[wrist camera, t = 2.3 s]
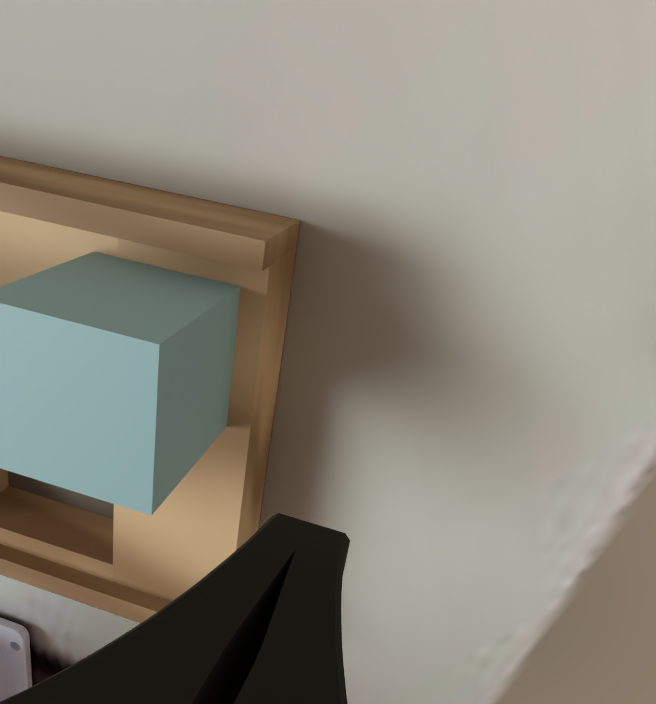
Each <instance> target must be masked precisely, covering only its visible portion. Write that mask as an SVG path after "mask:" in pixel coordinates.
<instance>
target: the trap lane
mask: <svg viewBox="0 0 656 704" xmlns="http://www.w3.org/2000/svg"><path fill="white" fill-rule="evenodd" d="M299 226H300V220H296V219H291V218H287V217H282V216H277V215H273V214H268V213H263V212H259V211H254V210H249V209H245V208H240V207H235V206H231V205H226V204H221V203H217V202H212V201H207V200H203V199H198V198H193V197H189V196H184V195H179V194H175V193H170V192H165V191H161V190H156V189H151V188H147V187H142V186H137V185H133V184H128V183H123V182H118V181H114V180H109V179H104V178H100V177H95V176H90V175H86V174H81V173H76V172H72V171H67V170H62V169H58V168H53V167H48V166H44V165H39V164H34V163H30V162H25V161H20V160H16V159H11V158H6V157H2V156H0V286H3V285H6V284H8V283H11V282H14V281H16V280H19V279H22V278H24V277H27V276H30V275H32V274H35V273H38V272H40V271H43V270H46V269H48V268H51V267H54V266H56V265H59V264H62V263H64V262H67V261H70V260H72V259H75V258H78V257H80V256H83V255H86V254H88V253H91V252H98V253H103V254H107V255H111V256H115V257H120V258H124V259H128V260H132V261H136V262H141V263H145V264H149V265H153V266H157V267H162V268H166V269H170V270H174V271H179V272H183V273H187V274H191V275H195V276H200V277H204V278H208V279H212V280H216V281H221V282H225V283H229V284H233V285H238V286H241V290H240V300H239V310H238V320H237V330H236V340H235V349H234V359H233V369H232V379H231V389H230V399H229V409H228V419H227V427H226V428H225V429H224V431H223V432H222V433H221V434H220V435H219V436H218V438H217V439H216V440H215V441H214V442H213V444H212V445H211V446H210V447H209V448H208V449H207V451H206V452H205V453H204V454H203V455H202V457H201V458H200V459H199V460H198V461H197V463H196V464H195V465H194V466H193V467H192V468H191V470H190V471H189V472H188V473H187V474H186V476H185V477H184V478H183V479H182V480H181V481H180V483H179V484H178V485H177V486H176V487H175V489H174V490H173V491H172V492H171V493H170V494H169V496H168V497H167V498H166V499H165V500H164V502H163V503H162V504H161V505H160V506H159V507H158V509H157V510H156V511H155V512H154V513H153V515H152V516H151V515H148V514H144V513H141V512H138V511H135V510H132V509H128V508H125V507H122V506H119V505H116V504H113V503H109V502H106V501H103V500H100V499H97V498H93V497H90V496H87V495H84V494H81V493H77V492H74V491H71V490H68V489H65V488H61V487H58V486H55V485H52V484H49V483H45V482H42V481H39V480H36V479H33V478H30V477H26V476H23V475H20V474H17V473H14V472H10V471H7V470H4V469H1V468H0V574H1V575H3V576H6V577H9V578H12V579H15V580H18V581H21V582H24V583H27V584H29V585H32V586H35V587H38V588H41V589H44V590H47V591H50V592H52V593H55V594H58V595H61V596H64V597H67V598H70V599H73V600H76V601H78V602H81V603H84V604H87V605H90V606H93V607H96V608H99V609H101V610H104V611H107V612H110V613H113V614H116V615H119V616H122V617H125V618H127V619H130V620H133V621H136V622H139V623H142V622H144V621H145V620H147V619H148V618H150V617H151V616H152V615H154V614H155V613H157V612H158V611H159V610H161V609H162V608H164V607H165V606H166V605H168V604H169V603H170V602H172V601H173V600H175V599H176V598H177V597H179V596H180V595H181V594H183V593H184V592H186V591H187V590H188V589H190V588H191V587H192V586H193V585H195V584H196V583H197V582H199V581H200V580H201V579H202V578H204V577H205V576H206V575H207V574H208V573H210V572H211V571H212V570H213V569H215V568H216V567H217V566H218V565H219V564H221V563H222V562H223V561H224V560H226V559H227V558H228V557H229V556H230V555H231V554H232V553H234V552H235V551H236V550H237V549H238V548H239V547H240V546H242V545H243V544H244V543H245V542H246V541H247V540H248V539H249V538H250V537H252V536H253V535H254V534H255V533H256V532H257V531H258V529H259V521H260V514H261V506H262V499H263V492H264V484H265V477H266V470H267V462H268V455H269V447H270V440H271V433H272V425H273V418H274V410H275V403H276V396H277V388H278V381H279V373H280V366H281V359H282V351H283V344H284V337H285V329H286V322H287V314H288V307H289V300H290V292H291V285H292V277H293V270H294V263H295V255H296V248H297V240H298V233H299Z"/></svg>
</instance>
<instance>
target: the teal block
mask: <svg viewBox="0 0 656 704" xmlns="http://www.w3.org/2000/svg"><path fill="white" fill-rule="evenodd" d="M240 290H241V286H238V285H233V284H229V283H225V282H221V281H216V280H212V279H208V278H204V277H200V276H195V275H191V274H187V273H183V272H179V271H174V270H170V269H166V268H162V267H157V266H153V265H149V264H145V263H141V262H136V261H132V260H128V259H124V258H120V257H115V256H111V255H107V254H103V253H98V252H91V253H88V254H86V255H83V256H80V257H78V258H75V259H72V260H70V261H67V262H64V263H62V264H59V265H56V266H54V267H51V268H48V269H46V270H43V271H40V272H38V273H35V274H32V275H30V276H27V277H24V278H22V279H19V280H16V281H14V282H11V283H8V284H6V285H3V286H0V468H1V469H4V470H7V471H10V472H14V473H17V474H20V475H23V476H26V477H30V478H33V479H36V480H39V481H42V482H45V483H49V484H52V485H55V486H58V487H61V488H65V489H68V490H71V491H74V492H77V493H81V494H84V495H87V496H90V497H93V498H97V499H100V500H103V501H106V502H109V503H113V504H116V505H119V506H122V507H125V508H128V509H132V510H135V511H138V512H141V513H144V514H148V515H151V516H152V515H153V513H154V512H155V511H156V510H157V509H158V507H159V506H160V505H161V504H162V503H163V502H164V500H165V499H166V498H167V497H168V496H169V494H170V493H171V492H172V491H173V490H174V489H175V487H176V486H177V485H178V484H179V483H180V481H181V480H182V479H183V478H184V477H185V476H186V474H187V473H188V472H189V471H190V470H191V468H192V467H193V466H194V465H195V464H196V463H197V461H198V460H199V459H200V458H201V457H202V455H203V454H204V453H205V452H206V451H207V449H208V448H209V447H210V446H211V445H212V444H213V442H214V441H215V440H216V439H217V438H218V436H219V435H220V434H221V433H222V432H223V431H224V429H225V428H226V427H227V419H228V409H229V399H230V389H231V379H232V369H233V359H234V349H235V340H236V330H237V320H238V310H239V300H240Z"/></svg>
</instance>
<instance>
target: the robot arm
mask: <svg viewBox="0 0 656 704" xmlns="http://www.w3.org/2000/svg"><path fill="white" fill-rule="evenodd" d="M349 543H350V540H349V538H348V537H347V535H346V534H345V533H342V532H339V531H336V530H332V529H329V528H326V527H322V526H319V525H316V524H313V523H309V522H306V521H303V520H299V519H296V518H293V517H289V516H286V515H283V514H279V513H278V514H276V515H274V516H272V517H271V518H270V519H269V520H268V521H267V522H266V523H265V524H264V525H263V526H262V527H261V528H260V529H259V530H258V531H257V532H256V533H255V534H254V535H253V536H252V537H250V538H249V539H248V540H247V541H246V542H245V543H244V544H243V545H242V546H240V547H239V548H238V549H237V550H236V551H235V552H234V553H232V554H231V555H230V556H229V557H228V558H227V559H226V560H224V561H223V562H222V563H221V564H219V565H218V566H217V567H216V568H215V569H213V570H212V571H211V572H210V573H208V574H207V575H206V576H205V577H204V578H202V579H201V580H200V581H199V582H197V583H196V584H195V585H193V586H192V587H191V588H190V589H188V590H187V591H186V592H184V593H183V594H181V595H180V596H179V597H177V598H176V599H175V600H173V601H172V602H170V603H169V604H168V605H166V606H165V607H164V608H162V609H161V610H159V611H158V612H157V613H155V614H154V615H152V616H151V617H150V618H148V619H147V620H145V621H144V622H142V623H141V624H139V625H138V626H136V627H135V628H133V629H132V630H130V631H128V632H127V633H125V634H124V635H122V636H121V637H119V638H117V639H116V640H114V641H112V642H111V643H109V644H108V645H106V646H104V647H103V648H101V649H99V650H98V651H96V652H94V653H93V654H91V655H89V656H87V657H86V658H84V659H82V660H80V661H78V662H76V663H75V664H73V665H71V666H69V667H67V668H66V669H64V670H62V671H60V672H58V673H57V674H55V675H53V676H51V677H49V678H47V679H45V680H43V681H42V682H40V683H38V684H36V685H34V686H32V673H31V656H30V639H29V633H28V631H27V629H26V628H25V627H24V626H22V625H20V624H17V623H14V622H11V621H9V620H6V619H3V618H0V704H347V696H346V688H345V677H344V666H343V653H342V630H341V591H342V576H343V571H344V567H345V562H346V557H347V553H348V548H349Z"/></svg>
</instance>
